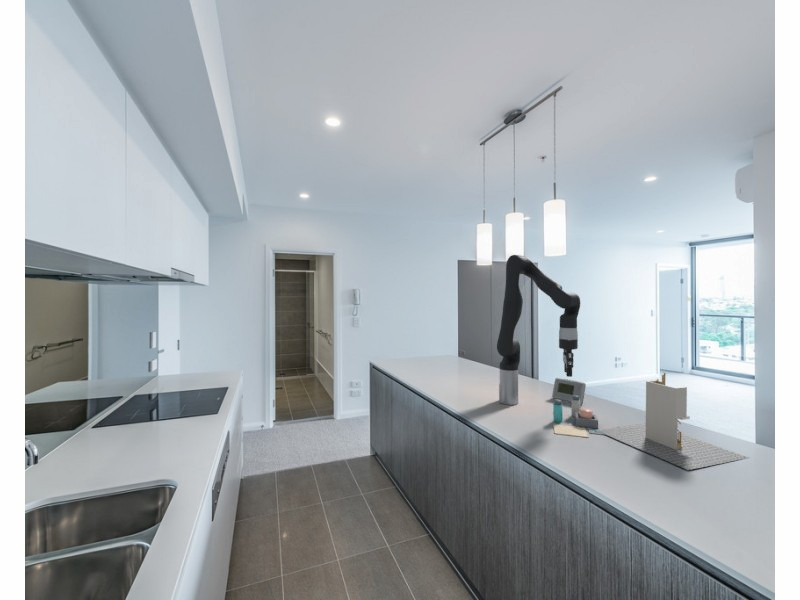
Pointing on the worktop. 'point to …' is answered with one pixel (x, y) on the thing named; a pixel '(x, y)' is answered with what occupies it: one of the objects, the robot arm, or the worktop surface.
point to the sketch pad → (570, 431)
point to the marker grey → (575, 404)
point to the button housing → (586, 421)
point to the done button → (586, 413)
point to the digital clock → (568, 390)
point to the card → (593, 431)
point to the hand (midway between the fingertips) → (568, 374)
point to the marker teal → (557, 411)
